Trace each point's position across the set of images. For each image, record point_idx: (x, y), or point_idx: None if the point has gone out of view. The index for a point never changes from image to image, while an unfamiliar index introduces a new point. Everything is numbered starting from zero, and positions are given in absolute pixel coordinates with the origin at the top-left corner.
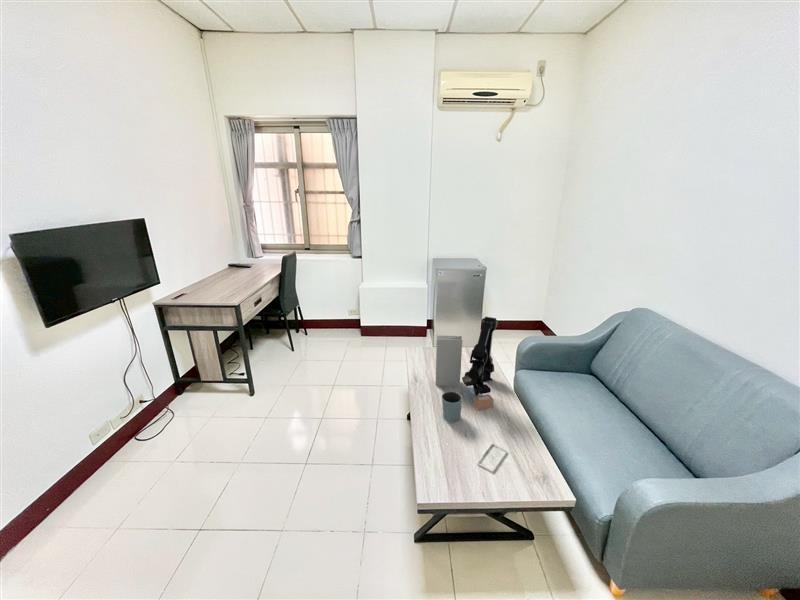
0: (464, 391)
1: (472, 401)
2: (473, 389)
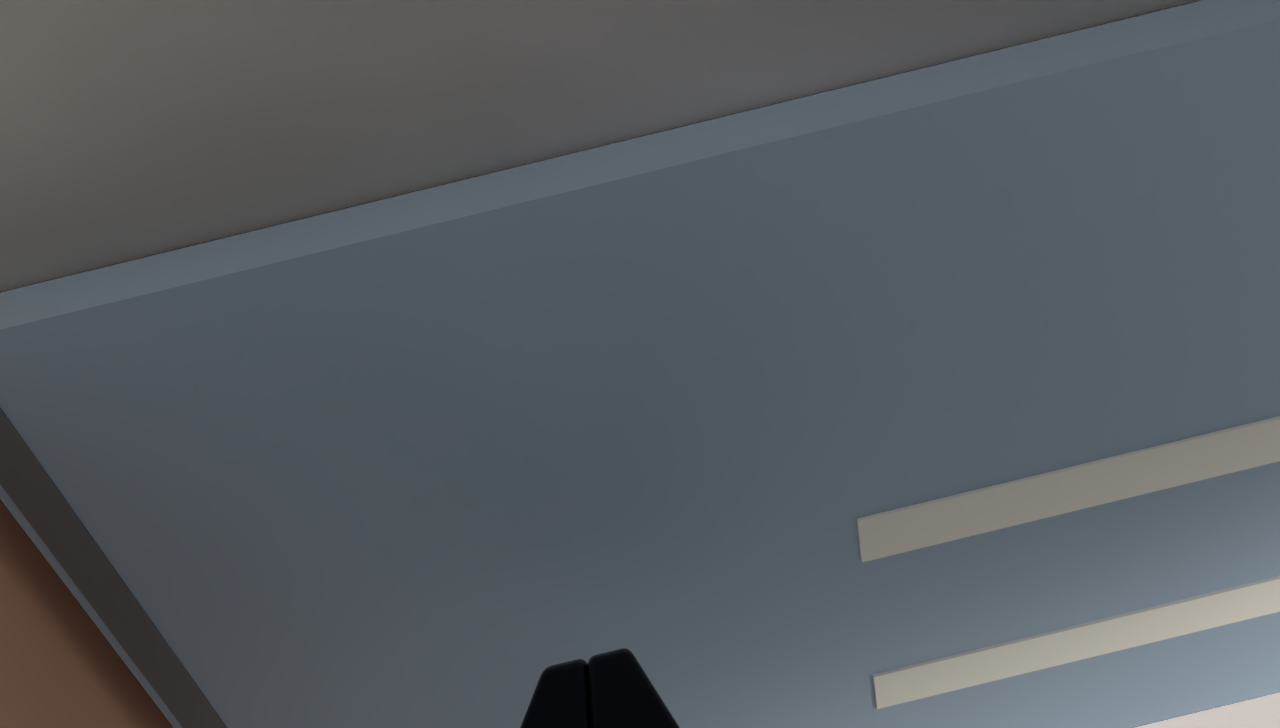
0: (1271, 99)
1: (106, 365)
2: (1215, 579)
